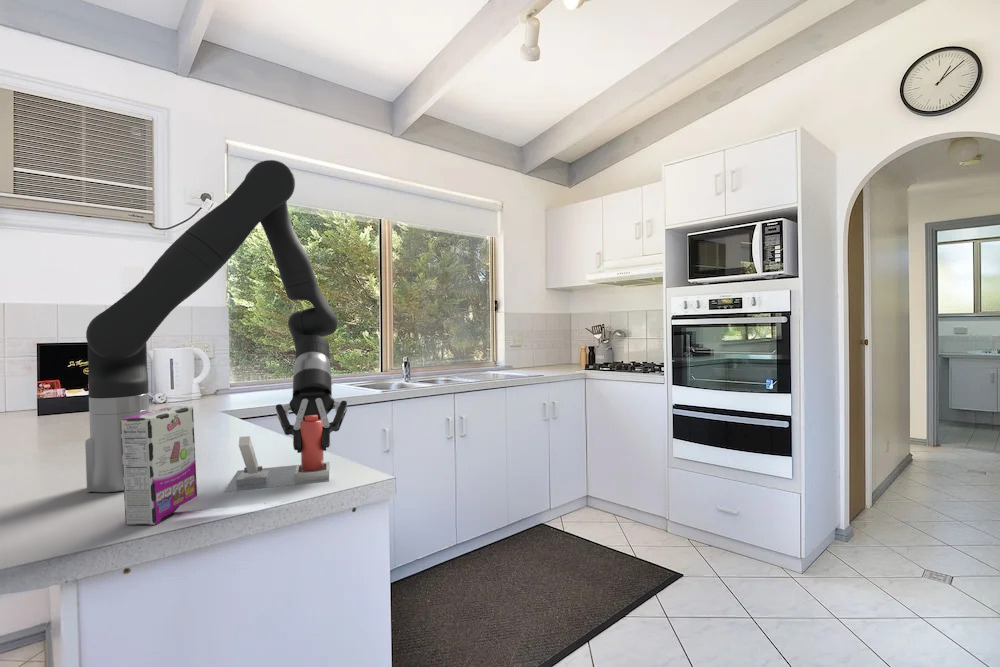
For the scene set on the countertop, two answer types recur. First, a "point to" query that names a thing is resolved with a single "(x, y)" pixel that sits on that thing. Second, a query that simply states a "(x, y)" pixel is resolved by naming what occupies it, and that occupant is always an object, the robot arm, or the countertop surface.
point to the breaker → (249, 455)
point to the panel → (277, 477)
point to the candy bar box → (158, 463)
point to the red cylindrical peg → (311, 443)
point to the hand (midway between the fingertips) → (311, 449)
